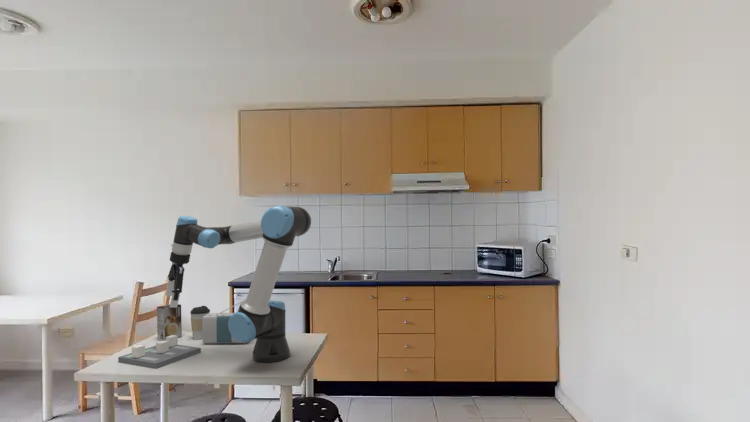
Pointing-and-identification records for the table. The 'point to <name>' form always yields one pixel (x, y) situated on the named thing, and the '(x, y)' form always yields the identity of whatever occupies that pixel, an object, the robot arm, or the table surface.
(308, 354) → the table surface
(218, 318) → the stereo radio cassette player
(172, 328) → the coffee box
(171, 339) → the breaker handle
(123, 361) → the breaker panel
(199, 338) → the coffee cup
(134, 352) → the block
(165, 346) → the block
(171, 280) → the robot arm
